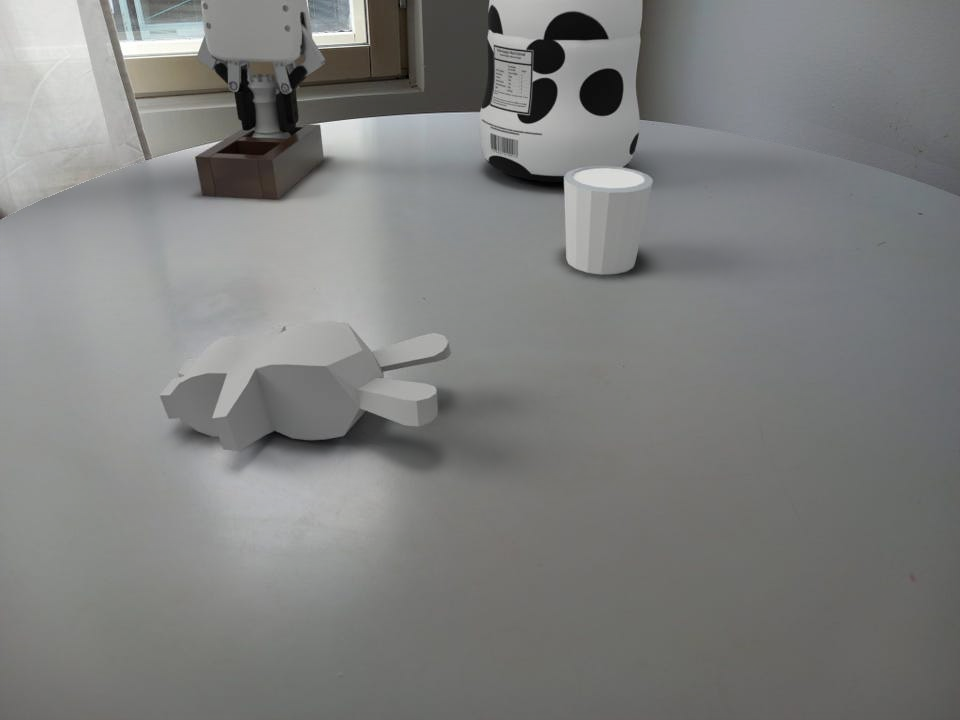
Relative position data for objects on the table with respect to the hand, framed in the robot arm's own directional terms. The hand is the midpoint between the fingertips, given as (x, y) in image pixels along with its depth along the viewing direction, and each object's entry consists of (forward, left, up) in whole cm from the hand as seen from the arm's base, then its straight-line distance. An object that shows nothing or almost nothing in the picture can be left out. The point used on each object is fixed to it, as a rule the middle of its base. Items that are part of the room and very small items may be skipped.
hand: (269, 126), depth 81 cm
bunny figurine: (+20, -46, -5) cm, 51 cm away
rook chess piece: (0, 0, -3) cm, 3 cm away
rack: (0, -3, -5) cm, 6 cm away
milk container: (+31, +4, -5) cm, 32 cm away
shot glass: (+36, -21, -5) cm, 42 cm away
